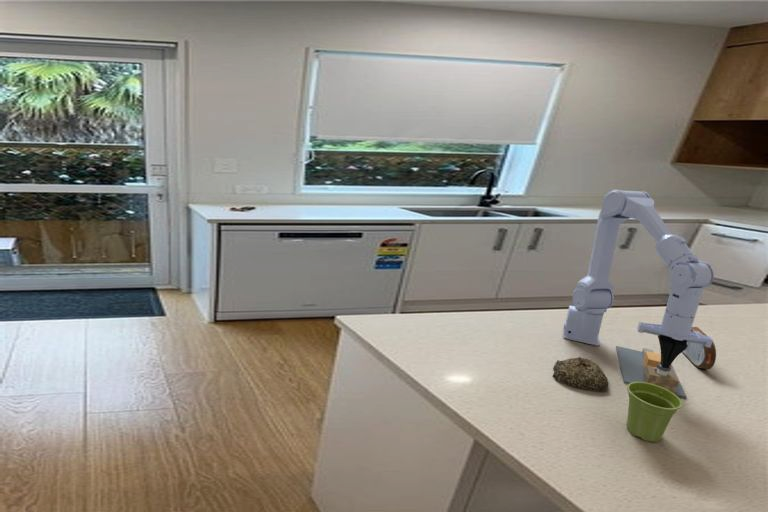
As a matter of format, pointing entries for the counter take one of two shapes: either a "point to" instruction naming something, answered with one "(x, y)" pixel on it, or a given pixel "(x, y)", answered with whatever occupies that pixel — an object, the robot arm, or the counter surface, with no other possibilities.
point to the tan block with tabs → (651, 359)
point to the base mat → (637, 368)
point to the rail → (646, 350)
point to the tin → (700, 352)
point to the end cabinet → (661, 379)
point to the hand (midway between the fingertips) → (664, 366)
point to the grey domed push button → (662, 370)
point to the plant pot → (650, 410)
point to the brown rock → (580, 374)
